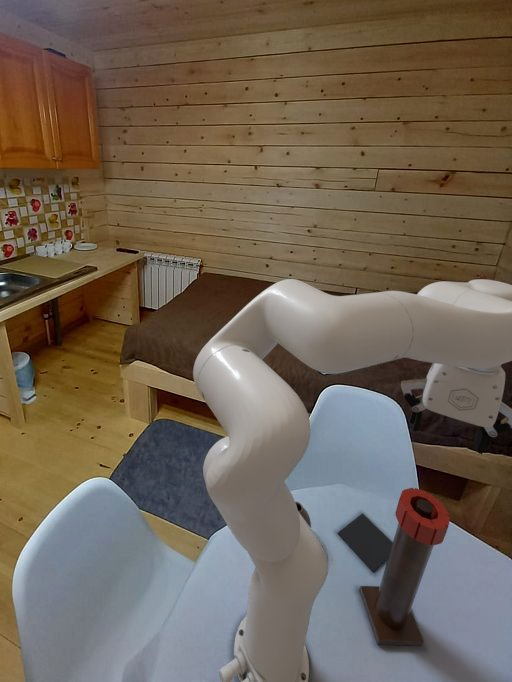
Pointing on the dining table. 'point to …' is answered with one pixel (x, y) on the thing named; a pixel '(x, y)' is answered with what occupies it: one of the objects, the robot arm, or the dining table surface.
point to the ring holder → (398, 588)
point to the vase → (303, 513)
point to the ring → (420, 526)
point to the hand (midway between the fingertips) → (444, 437)
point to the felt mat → (367, 541)
